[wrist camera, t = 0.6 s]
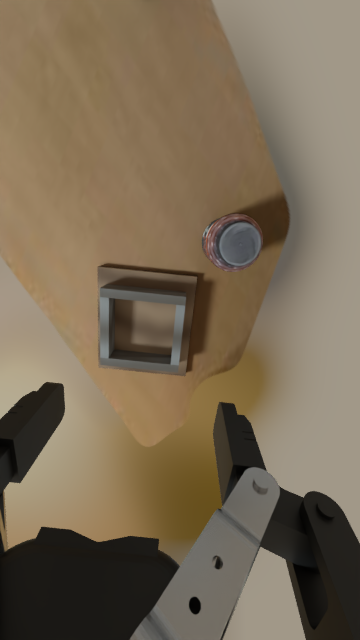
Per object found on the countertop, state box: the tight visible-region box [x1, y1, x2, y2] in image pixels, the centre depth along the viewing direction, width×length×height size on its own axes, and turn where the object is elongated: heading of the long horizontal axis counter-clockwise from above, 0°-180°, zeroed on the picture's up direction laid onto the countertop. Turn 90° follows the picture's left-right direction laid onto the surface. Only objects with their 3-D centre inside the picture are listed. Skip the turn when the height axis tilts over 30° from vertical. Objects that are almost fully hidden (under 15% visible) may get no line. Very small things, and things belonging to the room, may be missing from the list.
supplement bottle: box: [202, 213, 263, 272], centre depth 28 cm, size 6×6×11 cm
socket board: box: [98, 266, 197, 376], centre depth 36 cm, size 16×14×4 cm
